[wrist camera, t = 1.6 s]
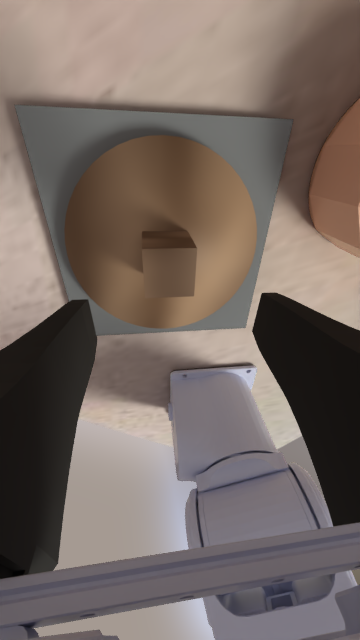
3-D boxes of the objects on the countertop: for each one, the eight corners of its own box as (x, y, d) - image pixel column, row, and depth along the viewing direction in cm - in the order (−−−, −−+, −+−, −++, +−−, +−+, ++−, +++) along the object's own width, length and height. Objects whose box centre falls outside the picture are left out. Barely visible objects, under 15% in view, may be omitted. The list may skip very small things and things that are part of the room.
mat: (80, 332, 21) (78, 336, 21) (19, 106, 12) (14, 104, 12) (243, 324, 23) (245, 327, 22) (288, 120, 14) (293, 119, 14)
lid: (88, 327, 20) (77, 363, 17) (41, 131, 13) (2, 123, 9) (237, 319, 22) (255, 351, 18) (272, 140, 14) (313, 135, 11)
